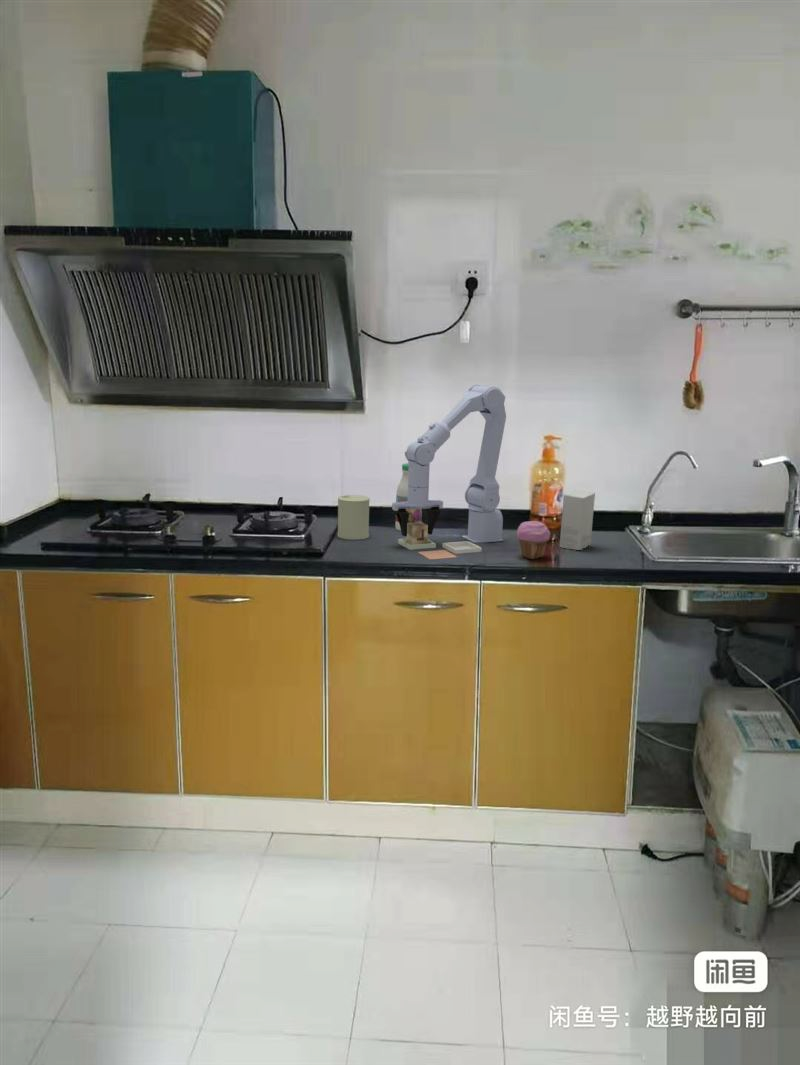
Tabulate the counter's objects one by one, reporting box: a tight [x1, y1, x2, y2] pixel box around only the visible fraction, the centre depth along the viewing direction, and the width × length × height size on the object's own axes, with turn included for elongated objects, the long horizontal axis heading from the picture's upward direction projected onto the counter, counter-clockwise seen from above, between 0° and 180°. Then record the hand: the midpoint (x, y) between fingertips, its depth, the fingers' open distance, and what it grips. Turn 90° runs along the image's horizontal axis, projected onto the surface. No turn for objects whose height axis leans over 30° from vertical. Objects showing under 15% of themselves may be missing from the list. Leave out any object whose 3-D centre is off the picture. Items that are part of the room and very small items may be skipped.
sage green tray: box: [397, 537, 437, 551], centre depth 241 cm, size 8×8×2 cm
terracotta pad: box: [417, 549, 458, 561], centre depth 231 cm, size 8×8×1 cm
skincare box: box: [559, 489, 596, 551], centre depth 243 cm, size 8×7×16 cm
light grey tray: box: [442, 540, 483, 555], centre depth 237 cm, size 8×8×2 cm
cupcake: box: [515, 520, 551, 560], centre depth 231 cm, size 9×9×10 cm
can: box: [337, 494, 370, 540], centre depth 249 cm, size 9×9×12 cm
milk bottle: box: [395, 463, 423, 532], centre depth 259 cm, size 8×8×20 cm
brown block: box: [405, 521, 429, 545], centre depth 240 cm, size 4×4×6 cm
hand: (416, 534), depth 240 cm, fingers open, 7 cm apart
